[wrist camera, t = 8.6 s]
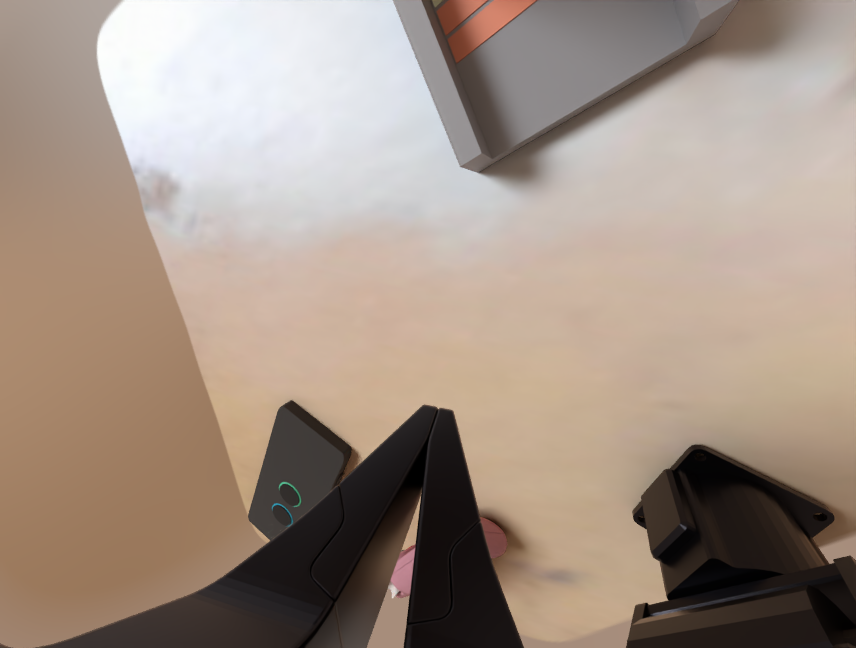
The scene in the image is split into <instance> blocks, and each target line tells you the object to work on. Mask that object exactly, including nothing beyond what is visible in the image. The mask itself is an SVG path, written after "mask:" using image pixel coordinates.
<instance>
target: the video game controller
mask: <svg viewBox="0 0 856 648" xmlns="http://www.w3.org/2000/svg"><path fill="white" fill-rule="evenodd" d="M480 518H481V523H482V525H483V529H484V533H485V537H486V541H487V544H488V548H489V551H490V555H491V558H496V557H499V556H501V555H503V553H504V552H505V551H506V548H507V539H506V536H505V534H504V532H503V531H502V530H501V529H500V527H499V526H497V525H496V524H494V523H493V522H492V521H489V520H487V519H485V518H482V517H480ZM415 546H416V544H415V545H413V546H411V547H409V548H408V549H406V550H402V551H401V552H400V555H399V558H398V561H397V563H396V566H395V569H394V572H393V575H392V578H391V580H390V583H389V586H388V589H390V591H391V592H392V598H394V597H395V596H396V597H398V598H403V597H406V596H409V595H410V590H411V581H412V572H413V563H414V555H415Z"/></svg>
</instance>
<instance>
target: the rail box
mask: <svg viewBox="0 0 856 648" xmlns="http://www.w3.org/2000/svg"><path fill="white" fill-rule="evenodd" d="M738 1H739V0H393V2H394V4H395V7H396V9H397V12H398V14H399V17H400V19H401V22H402V24H403V27H404V29H405V32H406V34H407V37H408V39H409V42H410V44H411V46H412V49H413V51H414V54H415V56H416V59H417V61H418V64H419V66H420V69H421V71H422V74H423V76H424V79H425V81H426V84H427V86H428V88H429V91H430V93H431V96H432V98H433V101H434V103H435V106H436V108H437V111H438V113H439V116H440V118H441V121H442V123H443V126H444V128H445V131H446V133H447V135H448V138H449V140H450V143H451V145H452V148H453V150H454V153H455V155H456V158H457V160H458V163H459V165H460V167H463V168H466V169H468V170H471V171H474V172H477V173H478V172H479V171H481V170H483V169H485V168H486V167H488V166H490V165H491V164H493V163H495V162H497V161H498V160H500V159H502V158H503V157H505V156H507V155H509V154H510V153H512V152H514V151H515V150H517V149H519V148H521V147H522V146H524V145H526V144H527V143H529V142H531V141H533V140H534V139H536V138H538V137H539V136H541V135H543V134H545V133H546V132H548V131H550V130H552V129H553V128H555V127H557V126H558V125H560V124H562V123H564V122H565V121H567V120H569V119H570V118H572V117H574V116H576V115H577V114H579V113H581V112H582V111H584V110H586V109H588V108H589V107H591V106H593V105H594V104H596V103H598V102H600V101H601V100H603V99H605V98H606V97H608V96H610V95H612V94H613V93H615V92H617V91H618V90H620V89H622V88H624V87H625V86H627V85H629V84H630V83H632V82H634V81H636V80H637V79H639V78H641V77H642V76H644V75H646V74H648V73H649V72H651V71H653V70H654V69H656V68H658V67H660V66H661V65H663V64H665V63H666V62H668V61H670V60H672V59H673V58H675V57H677V56H678V55H680V54H682V53H684V52H685V51H687V50H689V49H690V48H692V47H694V46H696V45H697V44H699V43H701V42H702V41H704V40H706V39H708V38H709V37H711V36H713V35H714V34H716V32H717V31H718V29H719V28H720V27H721V25H722V24H723V22H724V21H725V20H726V18H727V17H728V15H729V14H730V12H731V11H732V10H733V8H734V7H735V5H736V4H737V3H738Z"/></svg>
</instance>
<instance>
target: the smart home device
mask: <svg viewBox="0 0 856 648" xmlns="http://www.w3.org/2000/svg"><path fill="white" fill-rule="evenodd" d="M350 455H351V447H350V446H349V445H348V444H347V443H346V442H344V441H343V440H342V439H341V438H339V437H338V436H337V435H335V434H334V433H333V432H332V431H330V430H329V429H328V428H327V427H325V426H324V425H323V424H322V423H320V422H319V421H318V420H316V419H315V418H314V417H313V416H311V415H310V414H309V413H308V412H306V411H305V410H304V409H303V408H301V407H300V406H299V405H297V404H296V403H295V402H294V401H292V400H291V401H289V402H288V403H286V404H284V405H283V406H281V407H280V408H279V410H278V412H277V416H276V419H275V423H274V426H273V430H272V433H271V437H270V440H269V444H268V447H267V451H266V454H265V458H264V461H263V465H262V468H261V472H260V475H259V479H258V483H257V486H256V490H255V493H254V497H253V500H252V504H251V507H250V511H249V515H248V518H249V521H250V522H251V523H252V524H253V525H254V526H255V527H256V528H257V529H259V530H260V531H261V532H262V533H263V534H264V535H265V536H266V537H267V538H268V539H269V540H272V539H273V538H275V537H276V536H277V535H279V534H280V533H281V532H283V531H284V530H285V529H287V528H288V527H289V526H290V525H292V524H293V523H294V522H295V521H297V520H298V519H299V518H300V517H302V516H303V515H304V514H306V513H307V512H308V511H309V510H310V509H311V508H312V507H314V506H315V505H316V504H317V503H318V502H319V501H320V500H322V499H323V498H324V497H325V496H326V495H327V494H328V493H329V492H330V491H331V490H332V489H333V488H335V487H336V486H338V484H339V482H340V480H341V478H342V476H343V471H344V469H345V466H346V464H347V462H348V460H349V458H350Z"/></svg>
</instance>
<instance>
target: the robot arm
mask: <svg viewBox="0 0 856 648" xmlns="http://www.w3.org/2000/svg"><path fill="white" fill-rule="evenodd" d="M697 453H702V454H704V455H703V456H701V457H698V456H695V454H697ZM421 493H422V494H421ZM420 496H421V503H420V511H419V520H418V529H417V537H416V546H415V555H414V563H413V572H412V581H411V590H410V598H409V607H408V616H407V625H406V633H405V642H404V648H524V647H523V644H522V641H521V639H520V636H519V633H518V631H517V628H516V625H515V623H514V620H513V617H512V615H511V612H510V610H509V607H508V604H507V602H506V599H505V596H504V594H503V591H502V588H501V585H500V582H499V580H498V577H497V574H496V571H495V568H494V565H493V562H492V558H491V555H490V551H489V548H488V544H487V541H486V537H485V533H484V529H483V525H482V523H481V518H480V514H479V510H478V506H477V502H476V498H475V494H474V490H473V486H472V482H471V479H470V475H469V471H468V467H467V463H466V459H465V455H464V451H463V447H462V443H461V439H460V435H459V431H458V427H457V423H456V419H455V415H454V412H453V411H452V410H449V409H445V408H439V409H438V408H437V407H435V406H430V405H423V406H422V407H420V408H419V409H418V410H417V411H416V412H415V413H414V414H413V415H412V416H411V417H410V418H409V419H408V420H407V421H405V422H404V423H403V424H402V425H401V426H400V427H399V428H398V429H397V430H396V431H395V432H394V433H393V434H392V435H390V436H389V437H388V438H387V439H386V440H385V441H384V442H383V443H382V444H381V445H380V446H379V447H378V448H377V449H375V450H374V451H373V452H372V453H371V454H370V455H369V456H368V457H367V458H366V459H365V460H364V461H363V462H362V463H360V464H359V465H358V466H357V467H356V468H355V469H354V470H353V471H352V472H351V473H350V474H349V475H348V476H347V477H345V478H344V479H343V480H342V481H341V482H340V483H339V486H336V487H335V488H333V489H332V490H331V491H330V492H329V493H328V494H327V495H326V496H325V497H324V498H323V499H322V500H320V501H319V502H318V503H317V504H316V505H315V506H314V507H312V508H311V509H310V510H309V511H308V512H307V513H306V514H304V515H303V516H302V517H300V518H299V519H298V520H297V521H295V522H294V523H293V524H292V525H290V526H289V527H288V528H287V529H285V530H284V531H283V532H281V533H280V534H279V535H277V536H276V537H275V538H273V539H272V540H271V541H270V542H268V543H267V544H266V545H264V546H263V547H262V548H260V549H259V550H258V551H256V552H255V553H254V554H252V555H251V556H250V557H248V558H247V559H246V560H244V561H243V562H242V563H241V564H239V565H238V566H237V567H235V568H234V569H233V570H231V571H230V572H229V573H227V574H226V575H224V576H223V577H222V578H220V579H218V580H217V581H215V582H213V583H212V584H210V585H208V586H207V587H205V588H203V589H201V590H198V591H196V592H194V593H192V594H190V595H187V596H184V597H182V598H179V599H176V600H174V601H171V602H168V603H166V604H163V605H160V606H158V607H155V608H152V609H149V610H147V611H144V612H142V613H138V614H136V615H133V616H130V617H128V618H125V619H122V620H119V621H117V622H114V623H111V624H109V625H106V626H104V627H100V628H98V629H95V630H92V631H90V632H87V633H84V634H81V635H79V636H76V637H73V638H71V639H67V640H64V641H61V642H58V643H54V644H51V645H46V646H41V647H36V648H367V645H368V642H369V639H370V636H371V634H372V631H373V628H374V625H375V622H376V619H377V617H378V614H379V611H380V608H381V606H382V603H383V600H384V597H385V594H386V592H387V589H388V586H389V583H390V580H391V578H392V575H393V572H394V569H395V566H396V563H397V561H398V558H399V555H400V552H401V549H402V547H403V544H404V541H405V538H406V535H407V533H408V530H409V527H410V524H411V521H412V519H413V516H414V513H415V510H416V507H417V505H418V502H419V499H420ZM641 499H642V501H641V502H640V503H639V504H638V505H637V506H636V507H635V508H634V510H633V512H632V513H633V520H634V521H635V522H636V523H637V524H638V525H640V526H642V527H644V528H645V529H647V533H648V539H649V545H650V550H651V553H652V556H653V558H655V559H656V560H658V561H660V566H661V571H662V576H663V581H664V586H665V591H666V596H667V599H668V600H669V601H664V602H660V603H656V604H651V605H649V604H648V603H643V604H638V605H636V606H635V610H634V614H633V619H632V623H631V628H630V633H629V637H628V640H627V646H626V648H856V560H855V559H853V557H851V556H847V557H842V558H838V559H834V560H833V561H834V563H832V564H829V563H828V561H827V560H826V558H825V557H824V555H823V554H822V552H821V551H820V549H819V548H818V546H817V545H816V543H815V542H814V540H813V539H812V538H813V537H814V536H815V535H817V534H818V533H819V532H821V531H822V530H823V529H825V528H826V527H827V526H829V525H830V524H831V523H832V522H833V521H834V515H833V514H832V513H831V511H830V510H829V509H828V508H827V507H826V506H825V505H823V504H821V503H819V502H817V501H815V500H813V499H811V498H809V497H807V496H805V495H803V494H801V493H799V492H797V491H795V490H793V489H791V488H788V487H786V486H784V485H782V484H780V483H778V482H776V481H774V480H772V479H770V478H768V477H766V476H764V475H762V474H760V473H758V472H756V471H754V470H752V469H750V468H748V467H746V466H744V465H742V464H740V463H737V462H735V461H733V460H731V459H729V458H727V457H725V456H723V455H721V454H719V453H717V452H715V451H713V450H711V449H709V448H707V447H705V446H702V445H692V446H690V447H689V448H688V449H687V450H686V451H685V452H684V454H683V455H682V456H681V457H680V458H679V459H678V460H677V461H676V463H675V464H674V465H673V466H672V467H671V468H670V469H666V470H664V471H663V472H662V473H661V474H660V475H659V477H658V478H657V479H656V480H655V481H654V482H653V483H652V484H651V486H650V487H649V488H648V489H647V490H646V491H645V492H644V494H643V495H642V496H641ZM815 513H822V514H820V515H814V514H815ZM639 516H644V517H645V518H641V517H639ZM0 648H11V647H8V646H5V645H3V644H0Z"/></svg>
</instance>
